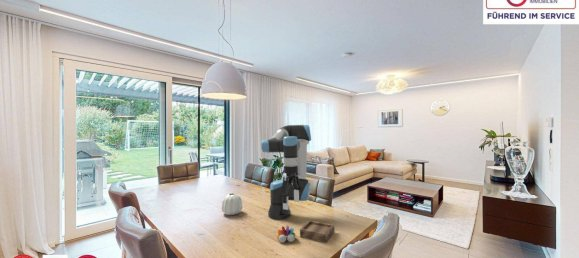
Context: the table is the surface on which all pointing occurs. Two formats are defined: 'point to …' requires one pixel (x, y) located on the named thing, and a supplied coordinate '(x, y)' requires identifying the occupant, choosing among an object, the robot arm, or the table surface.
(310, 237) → the wooden tray
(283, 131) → the robot arm
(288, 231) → the multicoloured small pieces
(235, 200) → the vase
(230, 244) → the table surface
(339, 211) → the table surface
